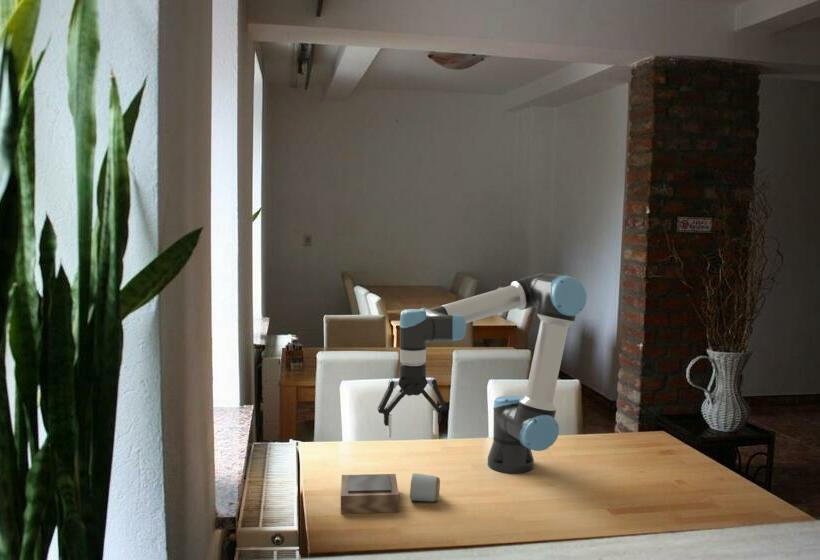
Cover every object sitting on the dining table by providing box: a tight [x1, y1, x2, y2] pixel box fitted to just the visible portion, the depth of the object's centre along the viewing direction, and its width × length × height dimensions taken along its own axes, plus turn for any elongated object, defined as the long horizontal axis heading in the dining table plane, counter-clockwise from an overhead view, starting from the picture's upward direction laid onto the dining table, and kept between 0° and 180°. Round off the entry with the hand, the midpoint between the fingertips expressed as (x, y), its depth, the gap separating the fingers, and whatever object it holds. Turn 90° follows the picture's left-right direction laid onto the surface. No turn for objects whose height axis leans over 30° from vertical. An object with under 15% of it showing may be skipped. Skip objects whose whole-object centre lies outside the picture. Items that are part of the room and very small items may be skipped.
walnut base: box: [340, 473, 400, 514], centre depth 209 cm, size 16×16×6 cm
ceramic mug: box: [409, 472, 441, 503], centre depth 212 cm, size 11×8×8 cm
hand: (412, 435), depth 212 cm, fingers open, 13 cm apart
